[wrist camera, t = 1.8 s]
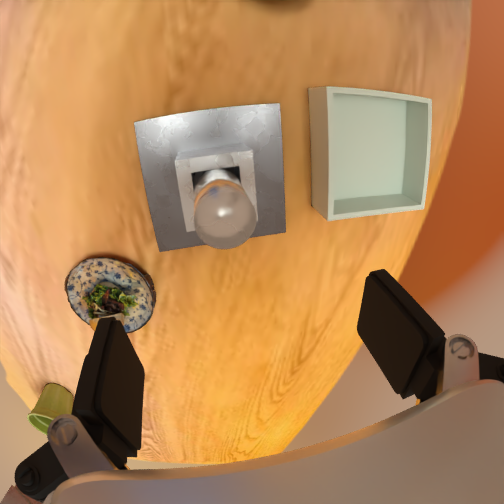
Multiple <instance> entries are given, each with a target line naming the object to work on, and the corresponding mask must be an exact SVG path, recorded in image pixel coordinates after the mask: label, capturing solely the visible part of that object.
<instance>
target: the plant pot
mask: <svg viewBox="0 0 504 504" xmlns="http://www.w3.org/2000/svg"><path fill="white" fill-rule="evenodd" d="M72 406H73V396H72V394H71V393H70V392H68V391H67V390H66V389H65V388H64V387H62V386H60V385H58V384H54V383H50V384H48V385H46V386H45V388H44V389H43V391H42V394H41V396H40V398H39V400H38V402H37V404H36V406H35V408H34V409H33V410H32V411H31V413H29V414H28V416H27V419H28V421H29V423H30V424H31V425H32V426H33V427H35V428H36V429H37V430H39V431H41V432H42V433H44V434H46V435H47V430H48V427H49V425H50V423H51V421H52V420H53V419H54V418H56V417H57V416H59V415H62V414H71V412H72Z"/></svg>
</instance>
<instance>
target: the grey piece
mask: <svg viewBox="0 0 504 504" xmlns="http://www.w3.org/2000/svg"><path fill="white" fill-rule="evenodd" d="M175 167H176V174H177V180H178V186H179V192H180V198H181V204H182V209H183V215H184V220H185V226H186V231H187V232H190V231H196V232H197V234H198V236H199V237H200V239H201V240H202V241H203V242H204V243H206V244H207V245H209V246H211V247H214V248H217V249H230V248H234V247H237V246H239V245H241V244H243V243H244V242H245V241H247V240H248V239H249V237H250V236H251V235H252V233H253V232H254V229H255V226H256V221H258V214H257V201H256V188H255V175H254V162H253V150H251V149H250V148H249V147H248V146H246V145H245V144H236V145H228V146H220V147H212V148H205V149H198V150H192V151H185V152H179V153H178V154H177V156H176V159H175ZM227 167H234V173H235V175H234V174H233V173H231V172H230V171H227V170H224V169H220V168H227ZM206 170H210V171H208V172H206V173H204V174H203V175H202V176H201V177H200V178H199V179H198V181H197V183H196V185H195V181H194V174H193V172H199V171H206Z"/></svg>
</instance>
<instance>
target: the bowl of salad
mask: <svg viewBox="0 0 504 504" xmlns="http://www.w3.org/2000/svg"><path fill="white" fill-rule="evenodd" d="M152 285H153V287H152ZM153 290H154V284H153V282H152V279H151V277H150V275H149V274H146V275H143V274H142V273H141V272H140V271H139V270H138V269H137V268H135V267H134V266H133V265H131V264H128V263H124V262H121V261H119V260H117V259H114V258H105V257H100V258H92V259H85V260H83V261H82V262H81V263H80V264H78V265H77V266H76V267H75V268H74V269H72V270H71V271H70V274H69V275H68V277H66V280H65V291H66V293H67V296H68V302H70V306H71V308H72V309H73V311H74V312H75V313H76V314H77V315H78V316H79V317H80V318H81V319H82V320H83V321H85V322H86V323H87V324H88V325H90V326H91V328H92V329H93V330H94V331H95V329H96V326H97V323H98V320H99V319H100V318H105V317H115V318H116V320H120V321H121V322H122V325H123V327H124V329H125V331H126V333H132V332H134V331H136V330H138V329H140V328H142V327H143V326H144V325H145V324H146V323H147V322H148V321H149V320H150V318H151V316H152V314H153V310H154V306H155V302H156V292H155V291H153Z"/></svg>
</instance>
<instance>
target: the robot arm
mask: <svg viewBox="0 0 504 504" xmlns="http://www.w3.org/2000/svg"><path fill="white" fill-rule="evenodd" d="M357 331H358V334H359V336H360V337H361V339H362V340H363V342H364V344H365V345H366V347H367V348H368V350H369V351H370V353H371V354H372V356H373V358H374V359H375V361H376V362H377V364H378V365H379V367H380V369H381V370H382V372H383V373H384V375H385V377H386V378H387V380H388V381H389V383H390V385H391V386H392V388H393V390H394V391H395V392H396V393H397V394H400V395H401V397H402V398H403V399H405V398H407V397H409V396H411V395H413V394H415V396H416V397H417V400H416V406H414V407H412V408H410V409H407V410H405V411H403V412H401V413H399V414H396V415H394V416H392V417H389V418H387V419H385V420H383V421H380V422H378V423H375V424H373V425H371V426H368V427H365V428H363V429H360V430H357V431H354V432H352V433H349V434H346V435H343V436H340V437H337V438H334V439H331V440H328V441H325V442H322V443H318V444H315V445H311V446H308V447H304V448H300V449H297V450H293V451H289V452H284V453H280V454H276V455H271V456H266V457H261V458H256V459H251V460H245V461H239V462H233V463H226V464H218V465H209V466H200V467H188V468H173V469H147V470H145V469H144V470H130V468H129V467H128V466H127V465H126V463H127V457H137V450H140V449H141V432H142V408H143V391H144V377H145V373H144V368H143V366H142V364H141V362H140V360H139V358H138V356H137V354H136V352H135V350H134V348H133V346H132V344H131V342H130V340H129V337H128V335H127V333H126V331H125V329H124V327H123V325H122V322H121V321H120V320H116V318H115V317H105V318H100V319H99V320H98V323H97V326H96V329H95V333H94V336H93V339H92V343H91V346H90V349H89V353H88V354H87V355H86V357H85V359H84V363H83V366H82V370H81V374H80V378H79V382H78V386H77V390H76V394H75V398H74V403H73V407H72V412H71V414H62V415H59V416H57V417H56V418H54V419H53V420H52V421H51V423H50V425H49V427H48V430H47V438H48V442H47V443H45V444H44V445H43V446H42V447H40V448H39V449H38V450H37V451H35V452H34V453H33V454H31V455H30V456H29V457H28V458H26V459H25V460H24V461H23V462H21V463H20V464H19V465H18V467H17V468H16V471H15V483H16V486H13V485H12V486H11V487H10V488H9V490H8V492H7V493H6V495H5V496H4V498H3V500H2V501H1V503H0V504H504V358H500V357H495V356H491V355H487V354H483V353H479V352H478V349H477V346H476V344H475V342H474V341H473V340H472V339H470V338H469V337H467V336H465V335H462V334H455V335H452V336H450V337H448V339H446V338H445V337H444V335H445V333H444V331H443V330H442V329H441V328H440V327H439V326H438V325H437V324H436V322H435V321H434V320H433V319H432V318H431V317H430V316H429V315H428V314H427V313H426V312H425V310H424V309H423V308H422V307H421V306H420V305H419V304H418V303H417V302H416V301H415V300H414V299H413V298H412V296H410V294H409V293H408V292H407V291H406V290H405V289H404V288H403V287H402V286H401V285H400V284H399V283H398V282H397V281H396V280H395V279H394V278H393V277H392V276H391V275H390V274H389V273H388V272H387V271H386V270H385V269H381V270H377V271H372V272H370V274H369V276H367V277H366V280H365V286H364V292H363V298H362V303H361V309H360V314H359V319H358V324H357Z"/></svg>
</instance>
